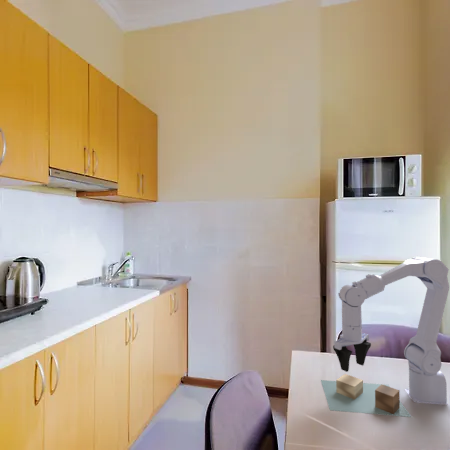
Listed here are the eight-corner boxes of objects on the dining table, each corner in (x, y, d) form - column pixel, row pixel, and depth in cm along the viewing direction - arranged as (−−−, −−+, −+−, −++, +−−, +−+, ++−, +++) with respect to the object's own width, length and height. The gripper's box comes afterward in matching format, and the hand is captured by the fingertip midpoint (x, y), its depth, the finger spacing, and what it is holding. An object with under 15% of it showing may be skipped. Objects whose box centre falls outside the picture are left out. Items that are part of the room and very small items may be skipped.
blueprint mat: (388, 385, 104) (388, 384, 104) (411, 418, 87) (411, 416, 87) (320, 381, 108) (320, 380, 108) (330, 411, 90) (330, 410, 90)
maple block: (363, 392, 100) (362, 380, 100) (354, 399, 96) (354, 386, 96) (345, 385, 104) (344, 373, 104) (336, 392, 100) (336, 379, 100)
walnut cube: (399, 407, 91) (399, 390, 91) (393, 414, 88) (393, 396, 88) (381, 400, 95) (381, 384, 95) (375, 407, 92) (375, 390, 92)
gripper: (355, 317, 105) (355, 357, 105) (325, 324, 97) (326, 368, 97) (374, 322, 99) (375, 365, 99) (345, 331, 91) (345, 377, 91)
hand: (352, 367), depth 98 cm, fingers open, 7 cm apart
